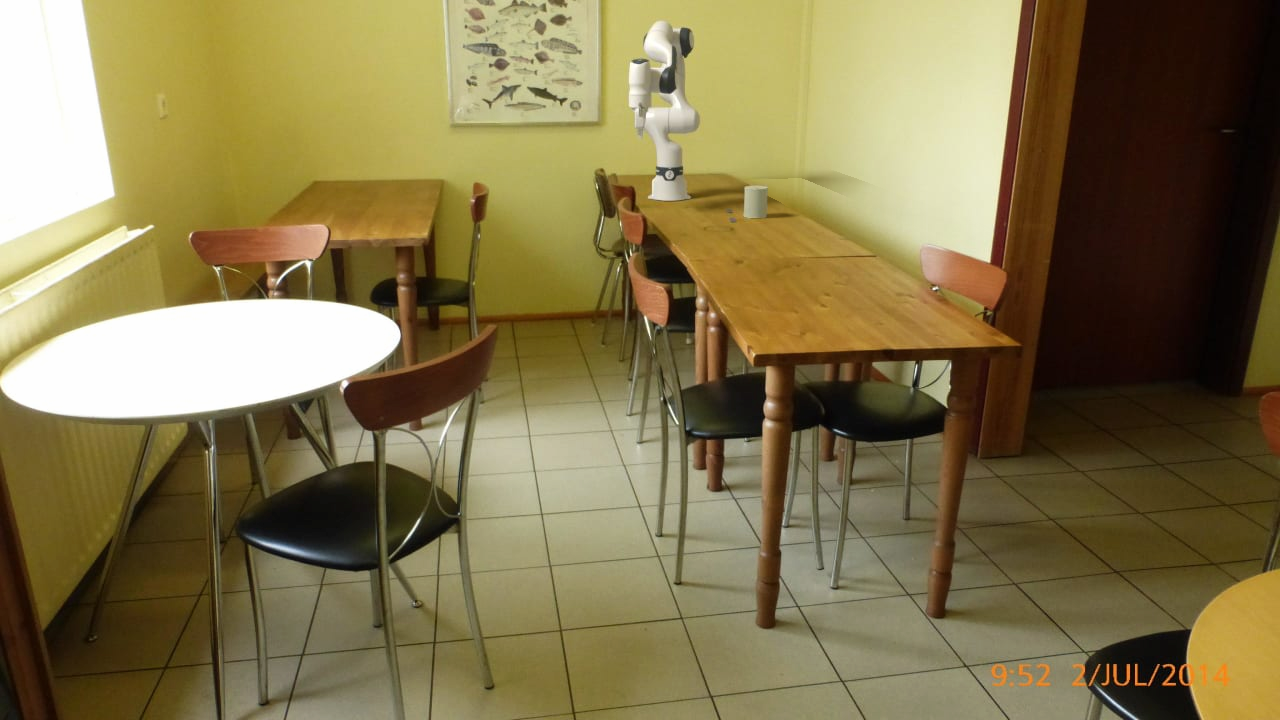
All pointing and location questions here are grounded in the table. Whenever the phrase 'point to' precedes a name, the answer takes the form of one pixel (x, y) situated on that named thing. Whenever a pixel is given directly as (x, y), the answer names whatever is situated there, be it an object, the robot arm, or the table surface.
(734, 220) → the line strip
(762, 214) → the can
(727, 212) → the strip
